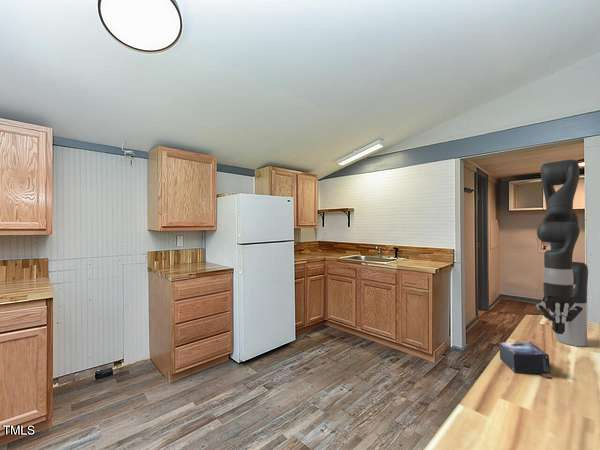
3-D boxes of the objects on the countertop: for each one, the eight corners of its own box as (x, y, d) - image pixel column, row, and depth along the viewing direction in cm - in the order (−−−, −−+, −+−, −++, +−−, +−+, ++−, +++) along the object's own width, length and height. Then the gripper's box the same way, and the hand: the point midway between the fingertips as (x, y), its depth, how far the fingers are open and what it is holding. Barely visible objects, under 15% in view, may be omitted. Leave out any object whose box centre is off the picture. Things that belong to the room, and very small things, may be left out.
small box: (549, 353, 93) (512, 353, 95) (551, 374, 93) (514, 373, 95) (530, 341, 104) (497, 341, 106) (532, 359, 103) (499, 359, 106)
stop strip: (522, 358, 106) (522, 356, 106) (527, 358, 105) (527, 357, 105) (545, 378, 92) (545, 376, 92) (551, 378, 92) (551, 376, 92)
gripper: (573, 279, 99) (574, 330, 99) (529, 278, 102) (529, 328, 102) (590, 284, 92) (590, 339, 92) (541, 283, 95) (542, 336, 95)
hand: (558, 333), depth 97 cm, fingers closed
